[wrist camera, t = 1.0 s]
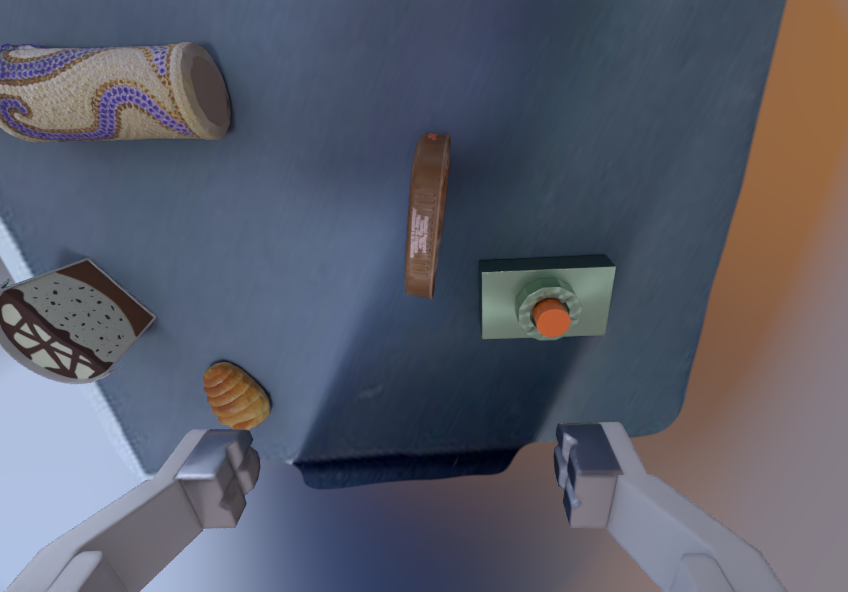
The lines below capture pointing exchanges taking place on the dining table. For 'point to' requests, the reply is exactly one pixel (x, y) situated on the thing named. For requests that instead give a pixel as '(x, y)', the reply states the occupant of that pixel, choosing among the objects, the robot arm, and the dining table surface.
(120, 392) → the dining table surface
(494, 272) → the console
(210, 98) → the decorative bottle
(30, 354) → the grey brown rounded block
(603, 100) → the dining table surface
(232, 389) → the pastry
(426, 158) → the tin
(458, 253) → the dining table surface
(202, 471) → the robot arm
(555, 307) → the button
